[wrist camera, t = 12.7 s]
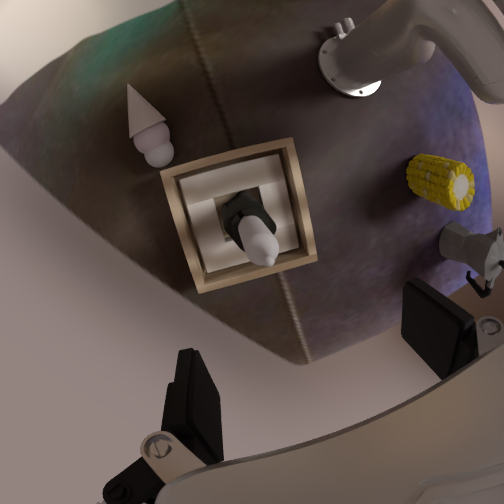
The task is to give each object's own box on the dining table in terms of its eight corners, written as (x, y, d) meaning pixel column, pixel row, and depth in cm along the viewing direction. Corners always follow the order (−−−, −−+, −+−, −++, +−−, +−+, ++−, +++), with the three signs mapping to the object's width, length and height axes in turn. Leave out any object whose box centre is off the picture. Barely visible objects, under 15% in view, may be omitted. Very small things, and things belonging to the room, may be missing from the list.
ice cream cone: (135, 84, 36) (170, 160, 43) (103, 97, 32) (141, 177, 40) (152, 68, 32) (190, 153, 39) (117, 80, 28) (159, 171, 35)
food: (429, 157, 47) (422, 199, 50) (399, 144, 43) (392, 192, 46) (484, 170, 35) (475, 218, 38) (462, 154, 31) (452, 212, 34)
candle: (238, 231, 45) (262, 306, 21) (218, 207, 43) (220, 259, 20) (263, 212, 45) (315, 266, 21) (244, 187, 43) (277, 214, 19)
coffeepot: (440, 212, 50) (501, 232, 32) (464, 212, 50) (520, 231, 33) (432, 277, 54) (484, 311, 37) (456, 272, 55) (505, 301, 38)
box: (167, 170, 41) (159, 171, 36) (282, 140, 42) (292, 137, 36) (200, 278, 47) (198, 293, 42) (306, 249, 48) (317, 260, 42)
